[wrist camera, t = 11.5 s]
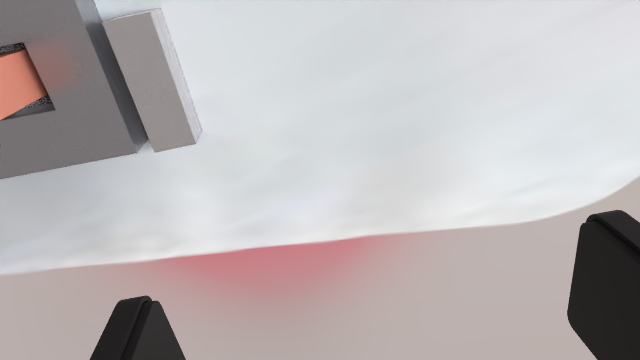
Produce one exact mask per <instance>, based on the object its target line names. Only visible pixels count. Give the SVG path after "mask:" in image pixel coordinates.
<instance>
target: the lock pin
mask: <svg viewBox="0 0 640 360" xmlns="http://www.w3.org/2000/svg"><path fill="white" fill-rule="evenodd" d="M47 94H48V92H47V90H46V88H45V86H44V84H43V82H42V80H41V78H40V76H39V74H38V72H37V69H36V67H35V65H34V63H33V61H32V59H31V57H30V55H29V53H28V51H27V49H26V48H23V49H18V50H13V51H8V52H3V53H0V120H2V119H3V118H5V117H7V116H9V115H11V114H13V113H14V112H16V111H18V110H20V109H22V108H23V107H25V106H27V105H29V104H31V103H33V102H34V101H36V100H38V99H40V98H42V97H43V96H45V95H47Z"/></svg>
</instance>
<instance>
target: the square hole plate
mask: <svg viewBox="0 0 640 360" xmlns="http://www.w3.org/2000/svg"><path fill="white" fill-rule="evenodd" d="M21 42H24V44H25V47H26V49H27V51H28V53H29V55H30V57H31V59H32V61H33V63H34V65H35V67H36V69H37V72H38V74H39V76H40V78H41V80H42V82H43V84H44V86H45V88H46V90H47V92H48V94H49V97H50V99H51V101H52V103H50V104H45V105H40V106H34V107H29V108H24V109H20V110H18V111H16V112H14V113H13V114H11V115H9V116H7V117H5V118H3V119H2V120H0V179H4V178H9V177H15V176H20V175H25V174H30V173H35V172H41V171H46V170H51V169H56V168H61V167H67V166H72V165H77V164H82V163H87V162H93V161H98V160H103V159H108V158H113V157H119V156H124V155H129V154H134V153H137V152H138V151H139V150H140V148H141V147H142V146H143V144H144V143H145V142H146V140H147V137H146V134H145V132H144V129H143V127H142V124H141V121H140V119H139V116H138V114H137V111H136V109H135V106H134V103H133V101H132V98H131V96H130V93H129V91H128V88H127V85H126V83H125V80H124V78H123V75H122V73H121V70H120V67H119V65H118V62H117V60H116V57H115V55H114V52H113V49H112V47H111V44H110V42H109V39H108V37H107V34H106V31H105V29H104V26H103V24H102V21H101V18H100V16H99V13H98V11H97V8H96V6H95V3H94V0H0V46H5V45H11V44H16V43H21Z"/></svg>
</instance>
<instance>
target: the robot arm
mask: <svg viewBox="0 0 640 360" xmlns="http://www.w3.org/2000/svg"><path fill="white" fill-rule="evenodd" d="M567 315H568V320H569V323H570V325H571V327H572V328H573V330H574V331H575V332H576V333H577V334H578V336H579V337H580V338H581V340H582V341H583V342H584V343H585V345H586V346H587V347H588V348H589V350H590V351H591V352H592V353H593V355H594V356H595V357H596V359H597V360H640V223H639V222H638V221H636V220H635V219H634V218H632V217H631V216H630V215H628V214H627V213H625V212H623V211H621V210H614V211H609V212H603V213H598V214H593V215H590V216H589V217H588V218H587V220H586V223H583V224H582V225H581V227H580V232H579V238H578V245H577V252H576V258H575V264H574V271H573V278H572V284H571V291H570V297H569V304H568V311H567ZM90 360H186V359H185V357H184V355H183V352H182V350H181V348H180V346H179V343H178V341H177V339H176V337H175V335H174V333H173V330H172V328H171V326H170V324H169V321H168V319H167V317H166V315H165V313H164V310H163V308H162V306H161V304H160V302H158V301H152V299H151V298H150V297H149V296H141V297H135V298H130V299H125V300H121V301H119V302H118V303H117V305H116V306H115V308H114V310H113V312H112V315H111V317H110V319H109V321H108V323H107V325H106V327H105V329H104V331H103V333H102V335H101V337H100V339H99V342H98V344H97V346H96V348H95V350H94V352H93V354H92V356H91V358H90Z"/></svg>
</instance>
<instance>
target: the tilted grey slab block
mask: <svg viewBox="0 0 640 360" xmlns="http://www.w3.org/2000/svg"><path fill="white" fill-rule="evenodd" d="M102 24H103V26H104V29H105V31H106V34H107V36H108V39H109V41H110V44H111V46H112V49H113V51H114V54H115V56H116V59H117V61H118V64H119V66H120V69H121V71H122V73H123V76H124V78H125V81H126V83H127V86H128V88H129V91H130V93H131V96H132V98H133V101H134V103H135V106H136V108H137V111H138V113H139V116H140V118H141V120H142V123H143V125H144V128H145V130H146V133H147V135H148V138H149V140H150V143H151V145H152V148H153V150H154V153H155V152H159V151H164V150H169V149H174V148H179V147H183V146H188V145H193V144H196V143H197V141H198V139H199V136H200V134H201V132H202V128H201V125H200V122H199V119H198V116H197V113H196V110H195V107H194V104H193V101H192V98H191V95H190V92H189V89H188V86H187V83H186V80H185V77H184V74H183V71H182V68H181V65H180V62H179V59H178V56H177V53H176V50H175V47H174V45H173V42H172V39H171V36H170V33H169V30H168V27H167V24H166V21H165V18H164V15H163V12H162V9H161V8H159V9H154V10H149V11H144V12H140V13H135V14H130V15H126V16H121V17H116V18H113V19H110V20H107V21H104V22H102Z"/></svg>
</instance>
